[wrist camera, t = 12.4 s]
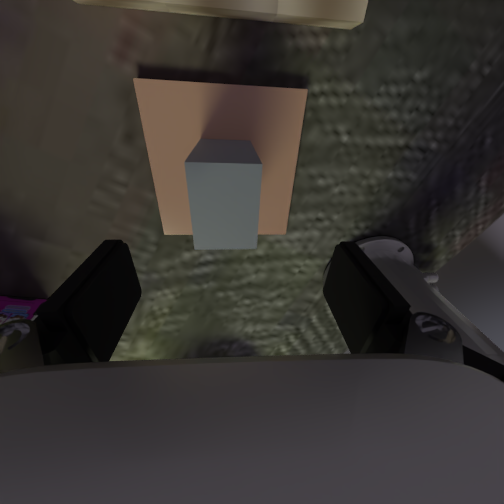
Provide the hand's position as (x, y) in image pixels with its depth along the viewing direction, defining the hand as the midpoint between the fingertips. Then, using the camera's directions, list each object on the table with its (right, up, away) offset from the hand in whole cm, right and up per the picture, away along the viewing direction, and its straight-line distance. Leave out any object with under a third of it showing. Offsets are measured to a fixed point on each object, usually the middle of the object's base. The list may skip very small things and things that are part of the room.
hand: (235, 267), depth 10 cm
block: (-2, +8, +12) cm, 15 cm away
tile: (-2, +9, +12) cm, 15 cm away
